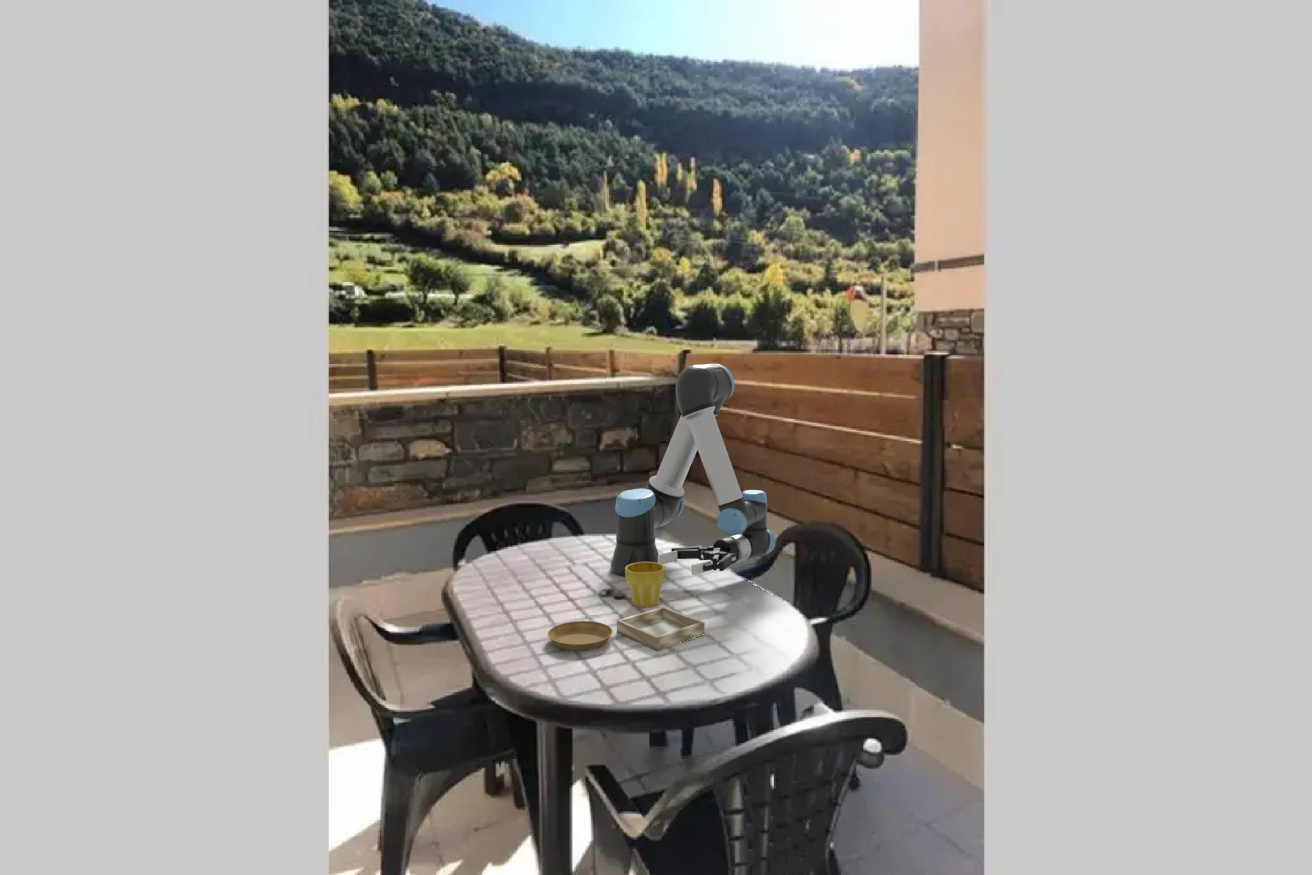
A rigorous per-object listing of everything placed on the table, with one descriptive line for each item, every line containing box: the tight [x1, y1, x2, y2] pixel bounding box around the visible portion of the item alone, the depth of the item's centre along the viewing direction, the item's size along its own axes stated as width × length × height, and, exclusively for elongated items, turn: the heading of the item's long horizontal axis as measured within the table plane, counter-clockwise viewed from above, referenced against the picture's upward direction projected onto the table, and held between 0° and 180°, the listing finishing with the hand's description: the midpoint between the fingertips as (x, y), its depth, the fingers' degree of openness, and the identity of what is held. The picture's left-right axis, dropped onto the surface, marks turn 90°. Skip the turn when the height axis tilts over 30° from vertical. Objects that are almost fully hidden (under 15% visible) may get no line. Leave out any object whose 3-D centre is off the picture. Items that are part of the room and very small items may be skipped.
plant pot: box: [624, 562, 666, 608], centre depth 208 cm, size 10×10×10 cm
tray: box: [616, 606, 706, 652], centre depth 187 cm, size 15×15×3 cm
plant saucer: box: [547, 620, 614, 652], centre depth 183 cm, size 15×15×3 cm
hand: (675, 564), depth 214 cm, fingers open, 13 cm apart
